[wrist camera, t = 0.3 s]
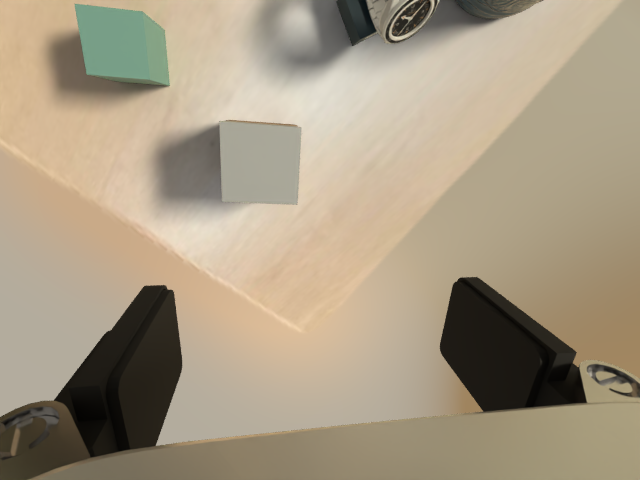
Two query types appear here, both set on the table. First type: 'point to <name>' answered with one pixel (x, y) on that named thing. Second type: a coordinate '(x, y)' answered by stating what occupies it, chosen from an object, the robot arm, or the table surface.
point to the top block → (259, 162)
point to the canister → (495, 7)
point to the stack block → (122, 45)
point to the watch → (385, 18)
